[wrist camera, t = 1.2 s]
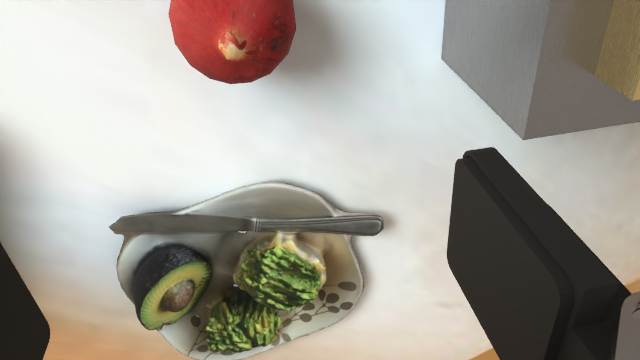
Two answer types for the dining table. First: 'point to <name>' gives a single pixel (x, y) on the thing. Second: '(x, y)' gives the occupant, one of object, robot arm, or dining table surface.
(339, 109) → the dining table surface
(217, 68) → the onion
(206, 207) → the salad plate
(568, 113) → the housing
